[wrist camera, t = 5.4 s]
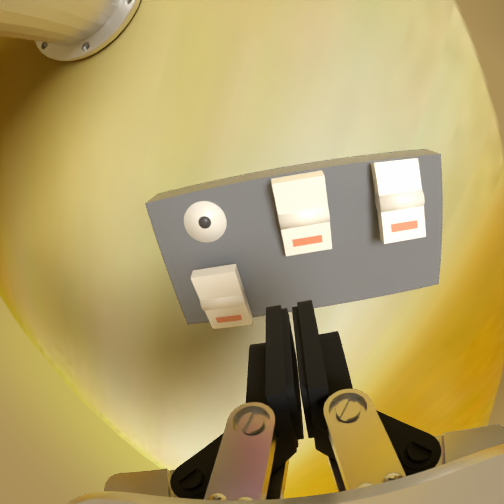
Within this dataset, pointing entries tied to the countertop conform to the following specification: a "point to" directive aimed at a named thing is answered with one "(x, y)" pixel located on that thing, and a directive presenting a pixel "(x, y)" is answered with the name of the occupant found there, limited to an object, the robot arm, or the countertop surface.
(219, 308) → the rocker far
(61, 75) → the countertop surface
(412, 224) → the rocker near
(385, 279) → the switch panel
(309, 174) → the rocker mid
